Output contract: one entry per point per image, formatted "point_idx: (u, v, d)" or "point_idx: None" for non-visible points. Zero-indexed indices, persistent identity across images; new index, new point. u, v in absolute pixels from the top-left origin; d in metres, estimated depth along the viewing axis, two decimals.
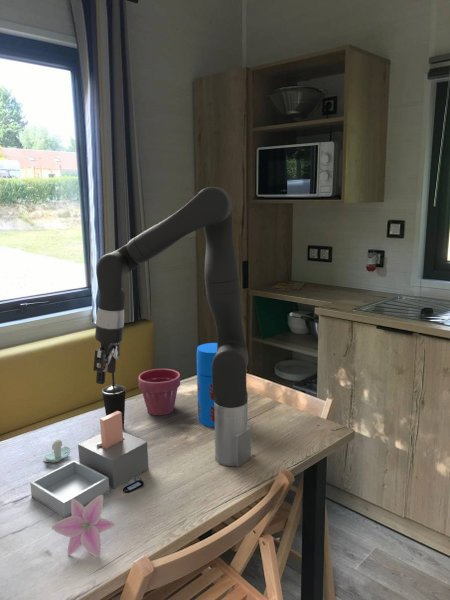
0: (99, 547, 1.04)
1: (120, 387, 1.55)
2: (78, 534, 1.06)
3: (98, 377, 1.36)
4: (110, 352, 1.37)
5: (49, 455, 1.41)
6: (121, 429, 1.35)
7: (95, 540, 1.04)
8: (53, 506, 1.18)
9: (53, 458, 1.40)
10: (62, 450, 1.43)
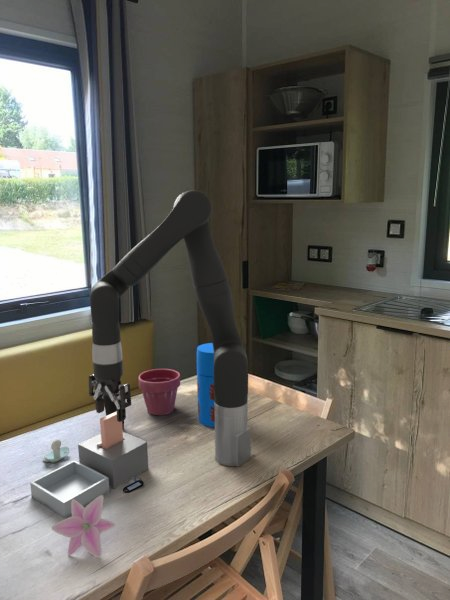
0: (100, 548, 1.04)
1: None
2: (78, 534, 1.05)
3: (122, 414, 1.28)
4: None
5: (48, 455, 1.41)
6: (121, 429, 1.35)
7: (95, 541, 1.04)
8: (53, 506, 1.18)
9: (52, 458, 1.40)
10: (61, 450, 1.43)
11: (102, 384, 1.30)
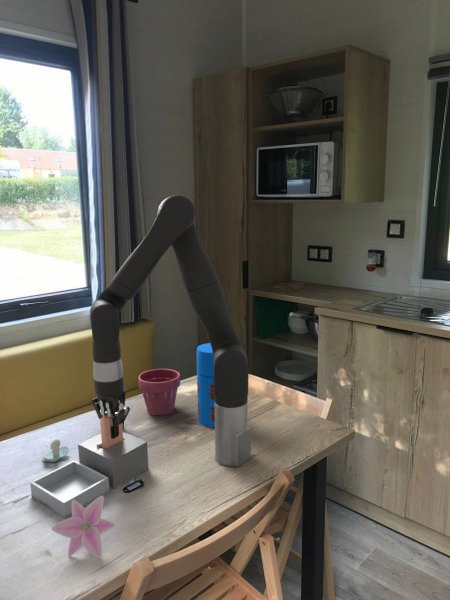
0: (100, 548, 1.03)
1: None
2: (79, 535, 1.05)
3: (116, 431, 1.31)
4: None
5: (47, 454, 1.41)
6: (121, 429, 1.35)
7: (95, 541, 1.04)
8: (53, 506, 1.18)
9: (51, 457, 1.40)
10: (60, 449, 1.44)
11: (102, 400, 1.31)
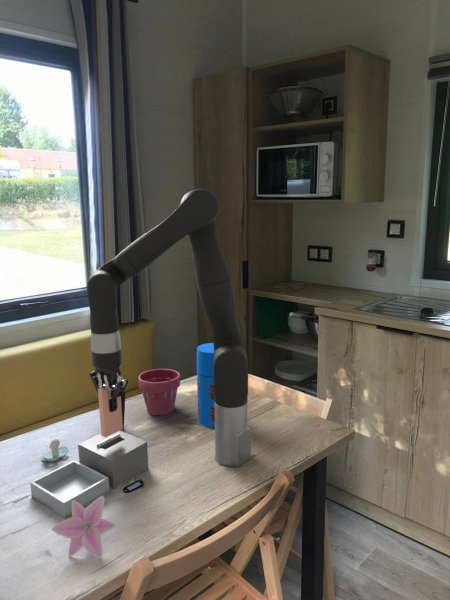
0: (100, 548, 1.03)
1: None
2: (79, 535, 1.05)
3: (114, 404, 1.30)
4: None
5: (47, 454, 1.41)
6: (120, 401, 1.33)
7: (96, 541, 1.04)
8: (53, 506, 1.18)
9: (51, 457, 1.40)
10: (60, 449, 1.44)
11: (100, 373, 1.29)
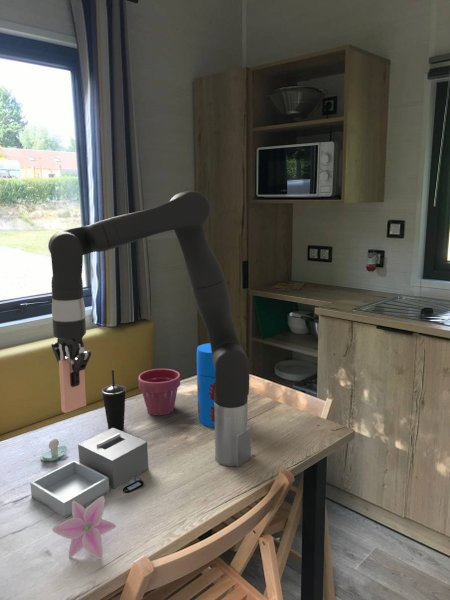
0: (101, 549, 1.03)
1: (120, 387, 1.55)
2: (79, 536, 1.05)
3: (76, 378, 1.20)
4: None
5: (46, 454, 1.42)
6: (83, 375, 1.23)
7: (96, 542, 1.04)
8: (53, 506, 1.18)
9: (50, 457, 1.40)
10: (59, 449, 1.44)
11: (62, 343, 1.19)
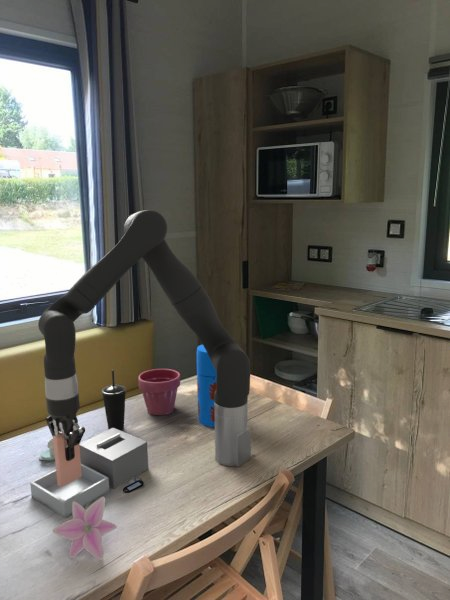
0: (102, 550, 1.03)
1: (120, 387, 1.55)
2: (80, 536, 1.05)
3: (71, 453, 1.21)
4: None
5: (45, 453, 1.42)
6: (78, 447, 1.24)
7: (97, 543, 1.04)
8: (53, 506, 1.18)
9: (48, 456, 1.41)
10: None
11: (56, 419, 1.20)
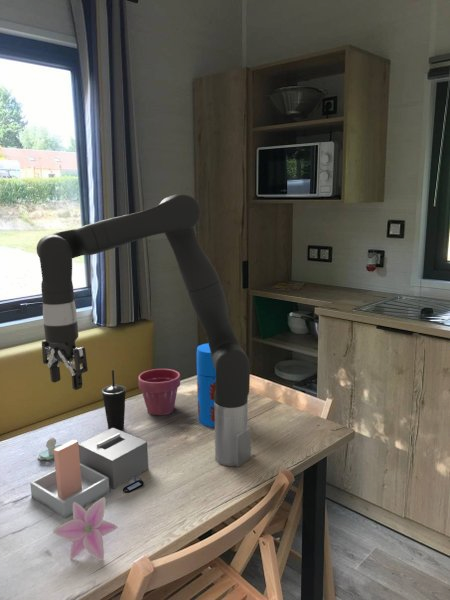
0: (102, 550, 1.03)
1: (120, 387, 1.55)
2: (80, 537, 1.05)
3: (78, 381, 1.16)
4: None
5: (43, 453, 1.42)
6: (78, 459, 1.24)
7: (97, 543, 1.03)
8: (53, 506, 1.18)
9: (47, 456, 1.41)
10: None
11: (55, 349, 1.18)
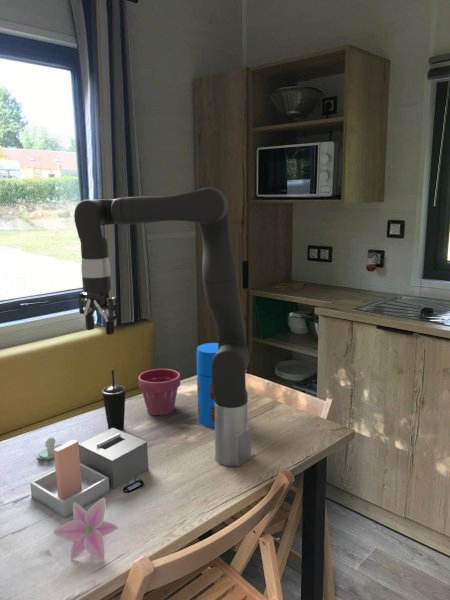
0: (103, 551, 1.03)
1: (120, 387, 1.55)
2: (81, 538, 1.04)
3: (111, 327, 1.35)
4: None
5: (42, 452, 1.42)
6: (78, 459, 1.24)
7: (98, 544, 1.03)
8: (53, 506, 1.18)
9: (46, 455, 1.41)
10: (55, 447, 1.45)
11: (91, 299, 1.36)
